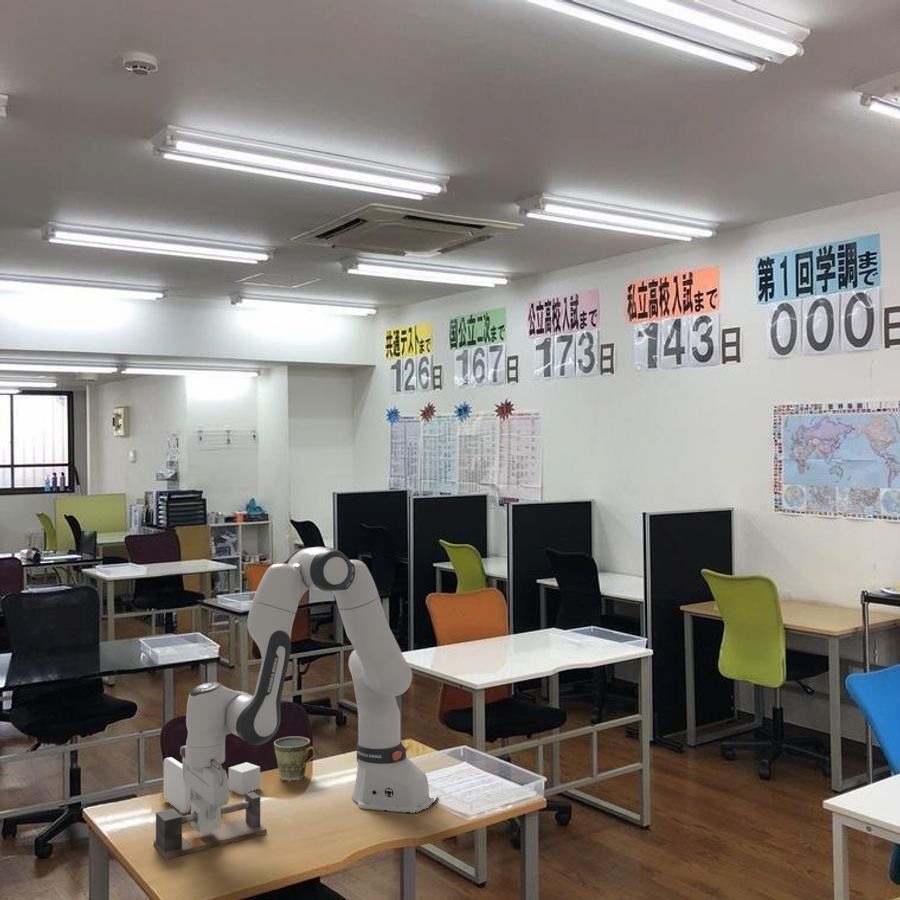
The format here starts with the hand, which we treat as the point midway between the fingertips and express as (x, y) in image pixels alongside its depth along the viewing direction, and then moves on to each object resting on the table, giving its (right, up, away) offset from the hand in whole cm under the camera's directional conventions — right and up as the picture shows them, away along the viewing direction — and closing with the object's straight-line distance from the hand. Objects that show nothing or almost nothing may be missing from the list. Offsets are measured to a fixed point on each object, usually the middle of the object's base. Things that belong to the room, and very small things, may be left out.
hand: (205, 813), depth 214 cm
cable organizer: (-10, -7, +23) cm, 26 cm away
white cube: (0, -3, 0) cm, 3 cm away
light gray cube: (+2, -7, +33) cm, 34 cm away
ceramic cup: (+14, -7, +42) cm, 45 cm away
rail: (+1, -6, +1) cm, 6 cm away
